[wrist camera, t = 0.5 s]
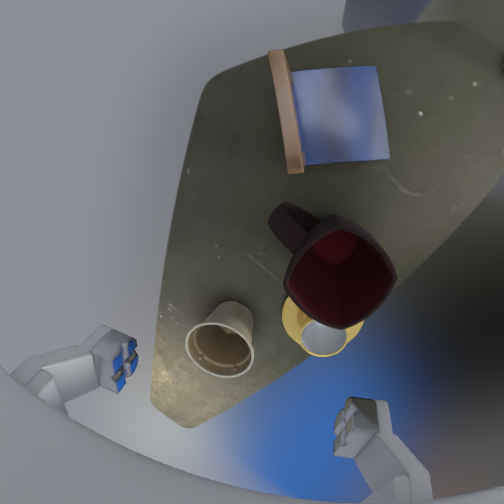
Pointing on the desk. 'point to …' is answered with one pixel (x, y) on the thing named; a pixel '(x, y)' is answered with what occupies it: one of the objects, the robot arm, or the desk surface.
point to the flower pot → (223, 341)
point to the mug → (332, 267)
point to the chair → (329, 114)
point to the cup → (315, 332)
